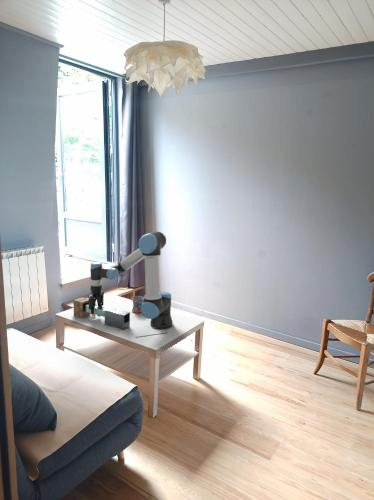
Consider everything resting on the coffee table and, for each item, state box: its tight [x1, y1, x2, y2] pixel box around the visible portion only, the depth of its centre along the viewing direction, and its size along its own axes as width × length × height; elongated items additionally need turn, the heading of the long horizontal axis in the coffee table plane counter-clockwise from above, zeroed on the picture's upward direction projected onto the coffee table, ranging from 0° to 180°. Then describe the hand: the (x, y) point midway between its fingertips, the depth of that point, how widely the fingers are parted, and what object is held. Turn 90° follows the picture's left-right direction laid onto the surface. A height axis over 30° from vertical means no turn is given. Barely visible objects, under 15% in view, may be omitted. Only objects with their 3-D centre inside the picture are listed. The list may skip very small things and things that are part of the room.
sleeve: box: [104, 306, 131, 331], centre depth 247 cm, size 16×7×10 cm, turn 60°
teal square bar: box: [85, 303, 108, 318], centre depth 253 cm, size 28×6×6 cm, turn 60°
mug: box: [131, 295, 144, 314], centre depth 276 cm, size 12×9×11 cm
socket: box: [73, 297, 91, 319], centre depth 263 cm, size 8×8×12 cm
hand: (96, 317), depth 257 cm, fingers closed on teal square bar, 4 cm apart
